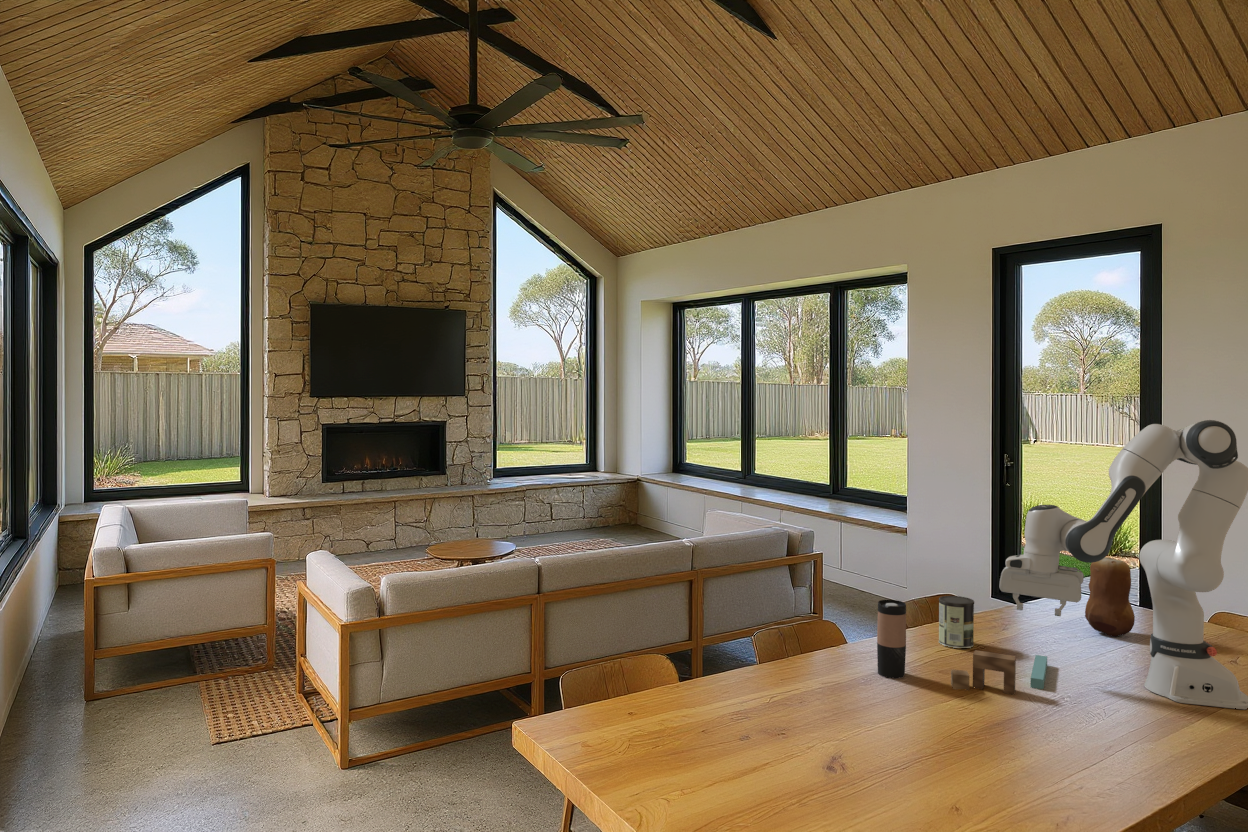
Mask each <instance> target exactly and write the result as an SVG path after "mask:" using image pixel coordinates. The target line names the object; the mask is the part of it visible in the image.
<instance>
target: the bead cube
mask: <svg viewBox="0 0 1248 832" xmlns="http://www.w3.org/2000/svg"><path fill="white" fill-rule="evenodd" d="M950 685H951V687H953V688H952V690H958V689H966V690H965V691H970V673H969V671H968V670H963V669H950Z"/></svg>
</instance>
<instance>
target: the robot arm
mask: <svg viewBox="0 0 1248 832" xmlns="http://www.w3.org/2000/svg"><path fill="white" fill-rule="evenodd" d="M1238 452H1239V451H1238V446H1237V436H1236V434H1235V431H1234V430H1233V429H1232V427H1230V426H1229V425H1228V424H1226V423H1224V422H1222V421H1219V420H1216V419H1215V420H1213V419H1209V420H1208V419H1207V420H1201V421H1197V422H1193V423H1191V424H1189V425H1188V426H1186V427H1183V428H1181V429H1177V430H1173V428H1171V427H1169V426H1167V425H1163V424H1160V423H1152V424H1149V425H1147V426H1146V427H1143V428H1142V429H1141V430H1140V431H1139V432H1138V433H1136V434H1135V435H1134V436H1133V437H1132V438H1131V439H1130V440H1129V441H1128V442H1126V444H1125V445H1124V446H1123V448H1122V449H1121V450H1119V452H1118V453H1117V455H1116V456H1115V457H1114V459H1113V461H1112V462H1111V464H1110V466H1109V468H1108V476H1109V479H1110V484H1111V485H1110V486H1111V487H1110V492H1109V495H1108V496H1107V498H1105V501H1104V502H1103V504H1102V505H1101V506H1100V507H1099V508H1098V509H1097V511H1096V513H1095V514H1094V515H1093V516H1092V517H1091V518H1090V519H1089V520H1084V519H1082V518H1079V517H1077V516H1074V515H1072V514H1070V513H1068V512H1066V511H1064V510H1063V509H1061V508H1060V507H1059V506H1058V505H1055V504H1040V505H1035V506H1032V507H1031V508H1030V509H1028V511H1027V514H1026V517H1025V525H1024V539H1025V545H1024V546H1023V547H1024V548H1023V554H1018V555H1010V556H1008V557H1007V558H1006V559H1005V567H1003V569H1002V571H1001V573H1000V578H999V590H1000V591H1001V592H1003V593H1009V594H1012V598H1013V600H1014V602H1015V603H1016V610H1017V611H1023V610H1024V603H1023V602H1020V599H1019V597H1020V595H1023V596H1029V597H1030V596H1031V597H1035V598H1036V597H1037V598H1043V599H1050V600H1056V601H1059V604H1060V606H1059V607H1058V608H1055V609H1054V616H1056V617H1061V616H1062V610H1063V609H1064V608H1065V606H1066V605H1067V602H1070V603H1080V602H1081V600H1082V584H1083V583H1084V576H1085V575H1084V573H1083V570H1081V569H1079V568H1077V567H1073V566H1065V565H1060V553H1061V552H1062V551H1063V552H1067V553H1069V554H1070V555H1071V556H1072V557H1073V558H1075V559H1076V560H1077V561H1080V562H1082V563H1086V564H1087V563H1089V564H1090V563H1093V562H1097V561H1100V560H1102V559H1103V558H1105V557H1107V556H1108V555H1109V553H1110V551H1111V548H1112V546H1113V542H1114V538H1115V536H1116V535H1117V532H1118V530H1119V529H1120V528H1121V527H1122V525H1123V524H1124V522H1125V521H1126V520H1127V519H1128V517H1129V516H1130V515H1131V513H1132V512H1133V510H1135V508H1136V506H1137V505H1138V504H1139V503H1140V500H1141V499H1142V497H1144V495H1145V494H1146V492H1147V491H1148V490H1149V489H1150V488H1151V487H1152V485H1153V484H1154V483H1155V482H1156V481H1157V480H1158V479H1159V478H1160V476H1161V475H1162V474H1163V473H1164V472H1165V470H1166V469H1167V468H1168V467H1169V466H1170V465H1171V464H1172V463H1173V462H1175V461H1176V460H1178V461H1181V462H1184V463H1186V464H1190V465H1194V466H1195V465H1197V467H1198V470H1199V472H1198V476H1197V480H1196V482H1195V484H1194V485H1193V487H1192V489H1191V490H1190V492H1189V494H1188V496H1187V498H1186V500H1185V502H1184V503H1183V505H1182V507H1181V509H1180V511H1179V512H1178V514H1177V520H1178V524H1179V525H1178V526H1179V528H1178V534H1177V538H1176V541H1174V540H1171V539H1155V540H1150V541H1148V542H1147V543H1145V544H1144V545H1143V546H1142V548H1141V549H1140V552H1139V554H1138V555H1139V556H1138V557H1139V562H1140V564H1141V567H1142V568H1143V570H1144V571H1145V575H1146V578H1147V583H1148V587H1149V592H1150V597H1151V598H1150V599H1151V603H1152V633H1151V634H1150V639H1149V654H1150V662H1149V669H1148V673H1147V676H1146V680H1145V681H1144V684H1143V686H1144V688H1146V689H1147V690H1148V691H1150V692H1152V693H1154V694H1157V695H1159V696H1161V697H1162V696H1163V697H1164V698H1168V699H1170V700H1171V701H1174V702H1176V703H1181V704H1190V705H1198V706H1209V707H1217V708H1226V709H1235V708H1236V709H1237V710H1248V709H1247V708H1248V695H1247V694H1246V693H1245V692H1243V691H1241V690H1240V686H1239V682H1238V678H1237V677H1236V675H1235V674H1234V673H1233V672H1232V671H1231V670H1230V669H1228V668H1227V667H1226V666H1225V665H1223V664H1222V663H1221V662H1220V661H1218V660H1217V659H1216V658H1215V657H1216V656H1217V655H1218V650H1217V649H1216V648H1215V647H1214V646H1213V645H1212V644H1210V643H1209V642H1208V641H1206V640H1204V632H1205V631H1204V630H1205V627H1204V625H1205V613H1204V610H1203V607H1202V606H1201V604H1200V602H1199V599H1198V596H1197V594H1196V593H1209V592H1212V591H1214V590H1216V589H1217V588H1219V587H1220V585H1222V582H1223V580H1224V577H1225V576H1224V574H1225V573H1224V572H1225V571H1224V567H1223V565H1222V552H1223V548H1224V547H1223V546H1224V543H1225V541H1226V537H1227V534H1228V532H1229V529H1230V528H1231V526H1232V524H1233V522H1234V520H1235V519H1236V517H1237V515H1238V514H1239V511H1240V509H1241V507H1242V505H1243V503H1244V501H1245V499H1246V498H1247V497H1246V496H1247V494H1248V467H1247V466H1246V465H1245V464H1244V463H1242V462H1240V461H1238V458H1239V453H1238Z"/></svg>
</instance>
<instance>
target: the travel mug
mask: <svg viewBox="0 0 1248 832" xmlns="http://www.w3.org/2000/svg"><path fill="white" fill-rule="evenodd" d="M876 635H877V636H876V640H877V641H876V649H877V650H876V651H877V652H876V653H877V655H876V656H877V674H878V675H879V676H881V677H884V678H887V679H901V678H902V679H903V678H904V677H905V672H906V654H907V653H906V652H907V604H906V602H903V601H901V600H897V599H896V600H895V599H881V600H878V602H877V632H876Z"/></svg>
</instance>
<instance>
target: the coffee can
mask: <svg viewBox="0 0 1248 832" xmlns="http://www.w3.org/2000/svg"><path fill="white" fill-rule="evenodd" d="M938 601H939V602H938V644H939V643H940V644H939V645H941V644H942V645H944V646H943V647H945V646H948V647H953V648H952V649H954V648H970V649H972V648H971V647H973V646H975V645H974V641H975V640H974V624H975V623H974V622H975V621H974V620H975V619H974V618H975V617H974V615H975V612H974V611H975V600H974V599H972V598H970V597H965V596H959V595H944V596H943V595H942V596H940V597H939V598H938ZM942 645H941V646H942ZM948 647H947V648H948ZM973 648H974V647H973Z"/></svg>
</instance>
